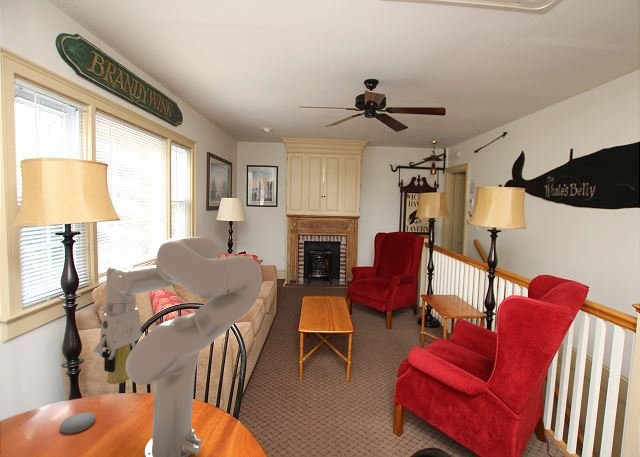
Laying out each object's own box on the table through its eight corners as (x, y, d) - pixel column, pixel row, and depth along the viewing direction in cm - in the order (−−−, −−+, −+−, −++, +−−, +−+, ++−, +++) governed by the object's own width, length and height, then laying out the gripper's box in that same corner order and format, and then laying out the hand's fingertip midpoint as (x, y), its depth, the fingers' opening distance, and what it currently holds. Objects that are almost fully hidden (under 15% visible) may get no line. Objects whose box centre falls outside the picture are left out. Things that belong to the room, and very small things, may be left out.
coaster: (101, 418, 91) (102, 416, 91) (73, 436, 84) (74, 433, 84) (82, 412, 94) (82, 409, 94) (52, 429, 86) (53, 426, 86)
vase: (135, 374, 95) (136, 329, 94) (120, 385, 88) (122, 336, 88) (117, 373, 95) (118, 327, 95) (101, 383, 89) (102, 335, 89)
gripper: (103, 316, 82) (101, 383, 82) (154, 301, 98) (152, 356, 99) (82, 313, 84) (80, 377, 84) (135, 298, 100) (134, 352, 101)
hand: (119, 365), depth 92 cm, fingers closed on vase, 5 cm apart
